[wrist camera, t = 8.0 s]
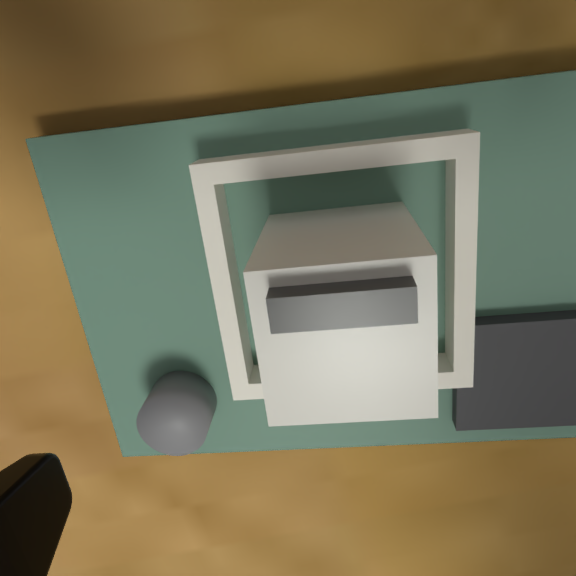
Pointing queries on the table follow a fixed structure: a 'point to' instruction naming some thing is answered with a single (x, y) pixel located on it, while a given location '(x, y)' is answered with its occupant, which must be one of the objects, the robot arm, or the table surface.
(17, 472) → the robot arm
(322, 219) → the plug
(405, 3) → the table surface
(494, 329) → the board
